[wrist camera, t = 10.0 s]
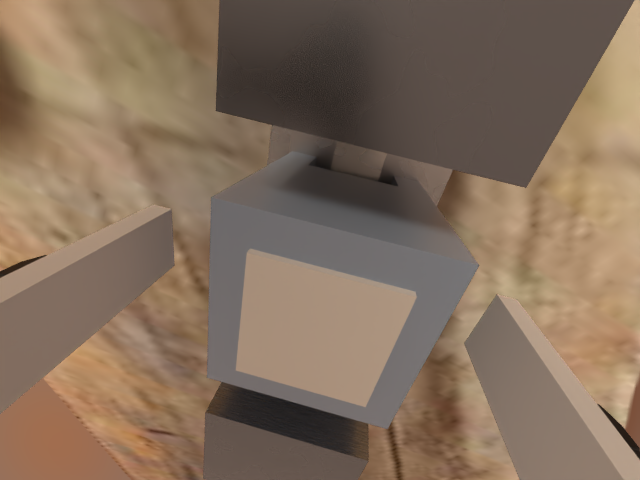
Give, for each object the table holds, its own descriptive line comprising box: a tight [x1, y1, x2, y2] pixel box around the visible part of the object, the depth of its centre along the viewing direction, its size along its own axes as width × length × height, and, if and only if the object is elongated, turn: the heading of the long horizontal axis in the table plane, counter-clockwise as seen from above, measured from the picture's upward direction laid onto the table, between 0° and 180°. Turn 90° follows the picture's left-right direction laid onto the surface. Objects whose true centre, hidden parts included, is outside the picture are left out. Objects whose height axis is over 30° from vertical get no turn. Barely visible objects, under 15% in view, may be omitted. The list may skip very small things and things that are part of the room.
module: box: [207, 151, 479, 429], centre depth 13 cm, size 8×7×9 cm
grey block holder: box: [203, 0, 634, 480], centre depth 13 cm, size 30×10×10 cm, turn 168°
